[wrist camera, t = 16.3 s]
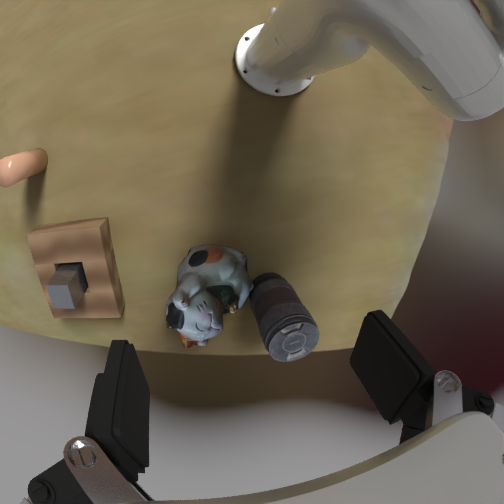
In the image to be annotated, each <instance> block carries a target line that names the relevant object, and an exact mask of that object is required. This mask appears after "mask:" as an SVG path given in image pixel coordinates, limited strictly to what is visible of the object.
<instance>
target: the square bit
mask: <svg viewBox="0 0 504 504" xmlns="http://www.w3.org/2000/svg"><path fill="white" fill-rule="evenodd" d="M87 285H88V282H87V279H86V275H85V271H84V268H83V264H82V262H71V263H62V264H61V266H60V267H59V268H58V270H57V271H56V272H55V274H54V275H53V276H52V278H51V279H50V280H49V282H48V283H47V284H46V287H47V290H48V293H49V296H50V299H51V302H52V305H53V308H63V309H75V308H76V306H77V304H78V302H79V300H80V298H81V296H82V294H83V292H84V290H85V288H86V286H87Z"/></svg>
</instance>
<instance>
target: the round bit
mask: <svg viewBox="0 0 504 504" xmlns="http://www.w3.org/2000/svg"><path fill="white" fill-rule="evenodd" d="M47 163H48V156H47V153H46V151H45V150H44V149H42V148H37V149H33V150H29V151H26V152H22V153H18V154H15V155H12V156H8V157H5V158H2V159H1V160H0V186H2V187H9V186H11V185H13V184H15V183H17V182H19V181H21V180H23V179H26V178H28V177H30V176H32V175H35V174H37V173H39V172H42V171H43V170H44V169H45V168H46V166H47Z"/></svg>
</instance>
